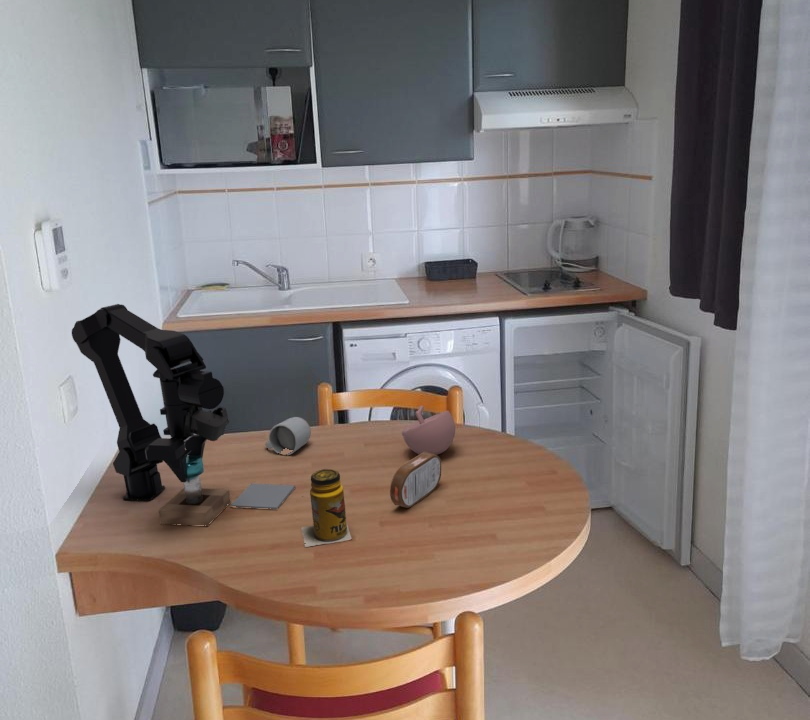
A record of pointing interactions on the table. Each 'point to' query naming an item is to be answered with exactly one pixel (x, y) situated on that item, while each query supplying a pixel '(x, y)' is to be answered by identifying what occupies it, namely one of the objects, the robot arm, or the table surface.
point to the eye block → (194, 508)
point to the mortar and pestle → (430, 433)
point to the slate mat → (263, 496)
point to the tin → (415, 479)
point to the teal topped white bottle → (193, 479)
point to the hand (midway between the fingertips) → (190, 475)
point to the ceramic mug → (289, 435)
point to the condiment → (326, 510)
